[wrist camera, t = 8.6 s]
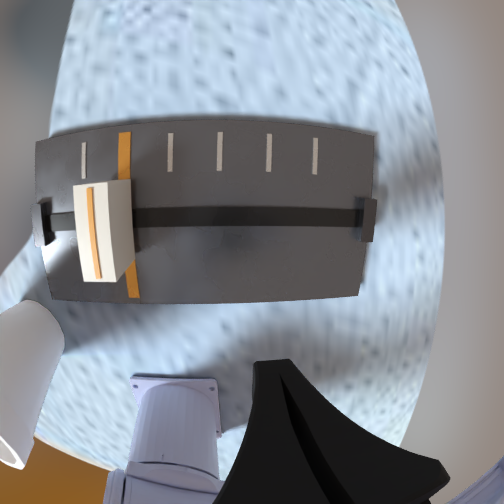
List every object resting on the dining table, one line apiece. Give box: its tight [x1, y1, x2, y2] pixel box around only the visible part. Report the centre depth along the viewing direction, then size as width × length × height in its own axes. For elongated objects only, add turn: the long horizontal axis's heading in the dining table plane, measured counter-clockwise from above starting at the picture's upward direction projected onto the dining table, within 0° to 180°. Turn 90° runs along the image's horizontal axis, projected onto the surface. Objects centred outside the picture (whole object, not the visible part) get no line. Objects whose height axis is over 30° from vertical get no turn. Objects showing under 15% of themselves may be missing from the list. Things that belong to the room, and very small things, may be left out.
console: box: [31, 120, 377, 304], centre depth 17 cm, size 12×24×2 cm, turn 89°
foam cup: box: [0, 299, 65, 469], centre depth 12 cm, size 10×9×13 cm
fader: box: [73, 179, 135, 282], centre depth 13 cm, size 5×2×4 cm, turn 179°
